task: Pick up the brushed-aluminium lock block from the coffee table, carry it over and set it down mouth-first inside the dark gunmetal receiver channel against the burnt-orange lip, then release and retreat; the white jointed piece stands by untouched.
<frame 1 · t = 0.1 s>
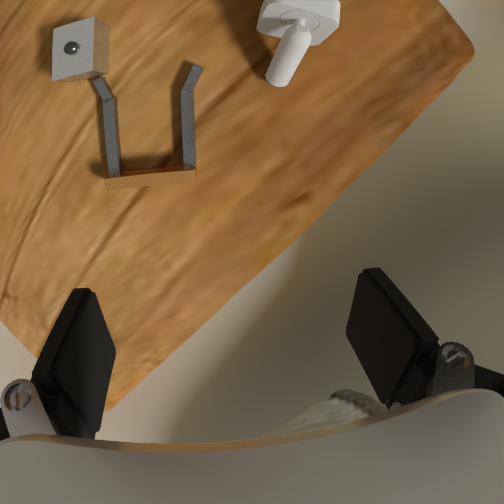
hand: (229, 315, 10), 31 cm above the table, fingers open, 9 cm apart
receiver: (150, 130, 35), on the table
white jointed piece: (282, 45, 32), on the table
lock block: (90, 54, 28), on the table
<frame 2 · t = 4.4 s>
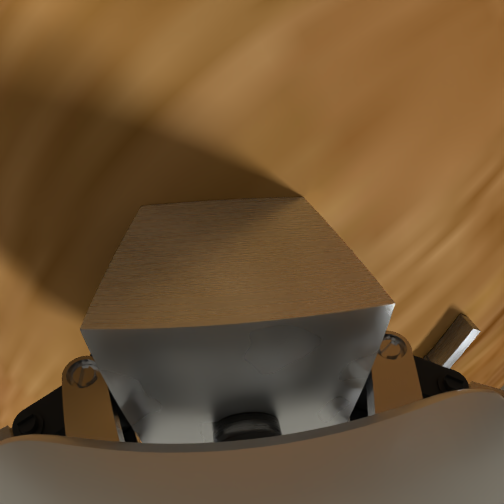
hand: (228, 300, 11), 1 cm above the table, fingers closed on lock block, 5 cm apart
receiver: (351, 414, 18), on the table
lock block: (226, 287, 12), on the table, touching gripper
when the fingers open (2 cm above the table, at t = 9.8 s): lock block drops 1 cm, resting in receiver.
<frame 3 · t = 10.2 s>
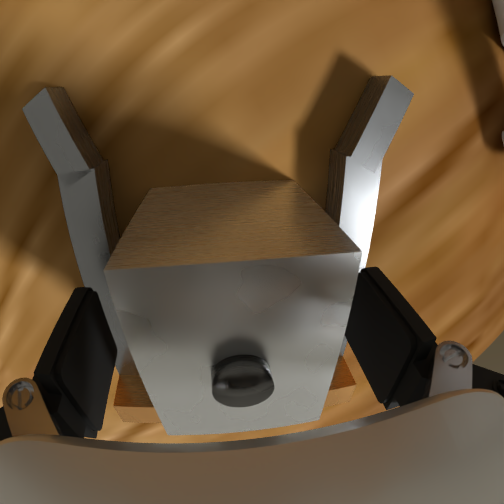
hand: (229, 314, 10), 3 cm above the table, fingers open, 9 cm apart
receiver: (224, 268, 13), on the table
lock block: (225, 262, 13), resting in receiver
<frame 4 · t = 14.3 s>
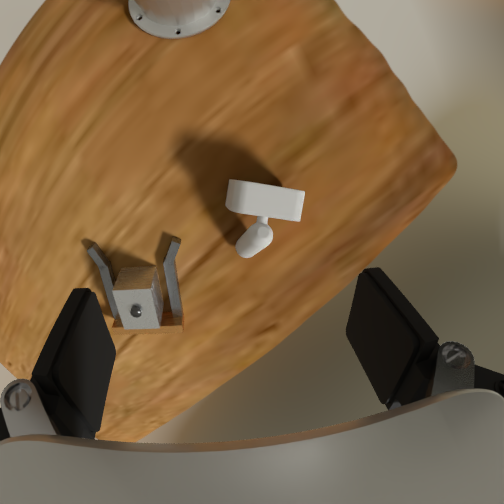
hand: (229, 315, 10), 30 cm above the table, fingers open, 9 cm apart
receiver: (142, 287, 44), on the table
white jointed piece: (252, 211, 41), on the table
lock block: (143, 285, 44), resting in receiver
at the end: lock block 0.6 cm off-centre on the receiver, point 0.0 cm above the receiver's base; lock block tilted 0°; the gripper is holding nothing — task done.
